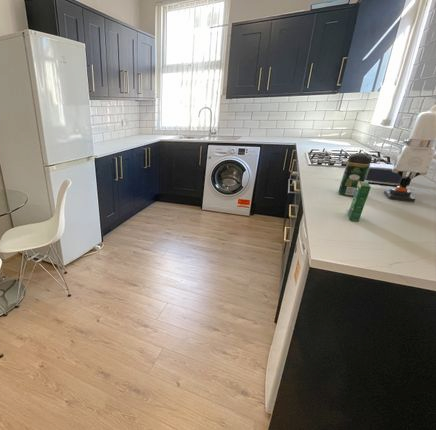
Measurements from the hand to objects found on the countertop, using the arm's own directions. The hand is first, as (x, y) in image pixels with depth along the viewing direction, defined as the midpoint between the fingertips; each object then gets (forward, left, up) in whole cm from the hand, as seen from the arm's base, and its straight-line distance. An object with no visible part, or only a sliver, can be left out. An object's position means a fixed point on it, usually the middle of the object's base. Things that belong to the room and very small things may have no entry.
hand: (402, 186), depth 121 cm
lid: (+2, -27, +3) cm, 27 cm away
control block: (0, 0, -5) cm, 5 cm away
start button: (0, 0, -2) cm, 2 cm away
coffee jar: (+18, +5, -5) cm, 19 cm away
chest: (+2, -27, -5) cm, 27 cm away
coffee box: (+20, +39, -5) cm, 44 cm away
